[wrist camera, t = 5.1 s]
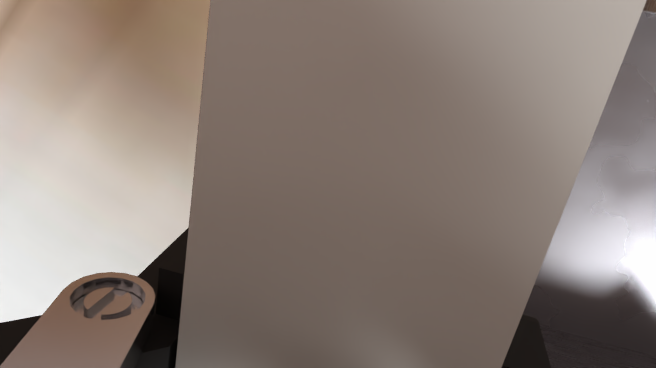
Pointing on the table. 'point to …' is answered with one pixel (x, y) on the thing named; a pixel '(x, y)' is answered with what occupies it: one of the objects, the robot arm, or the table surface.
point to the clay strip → (385, 175)
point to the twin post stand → (608, 231)
